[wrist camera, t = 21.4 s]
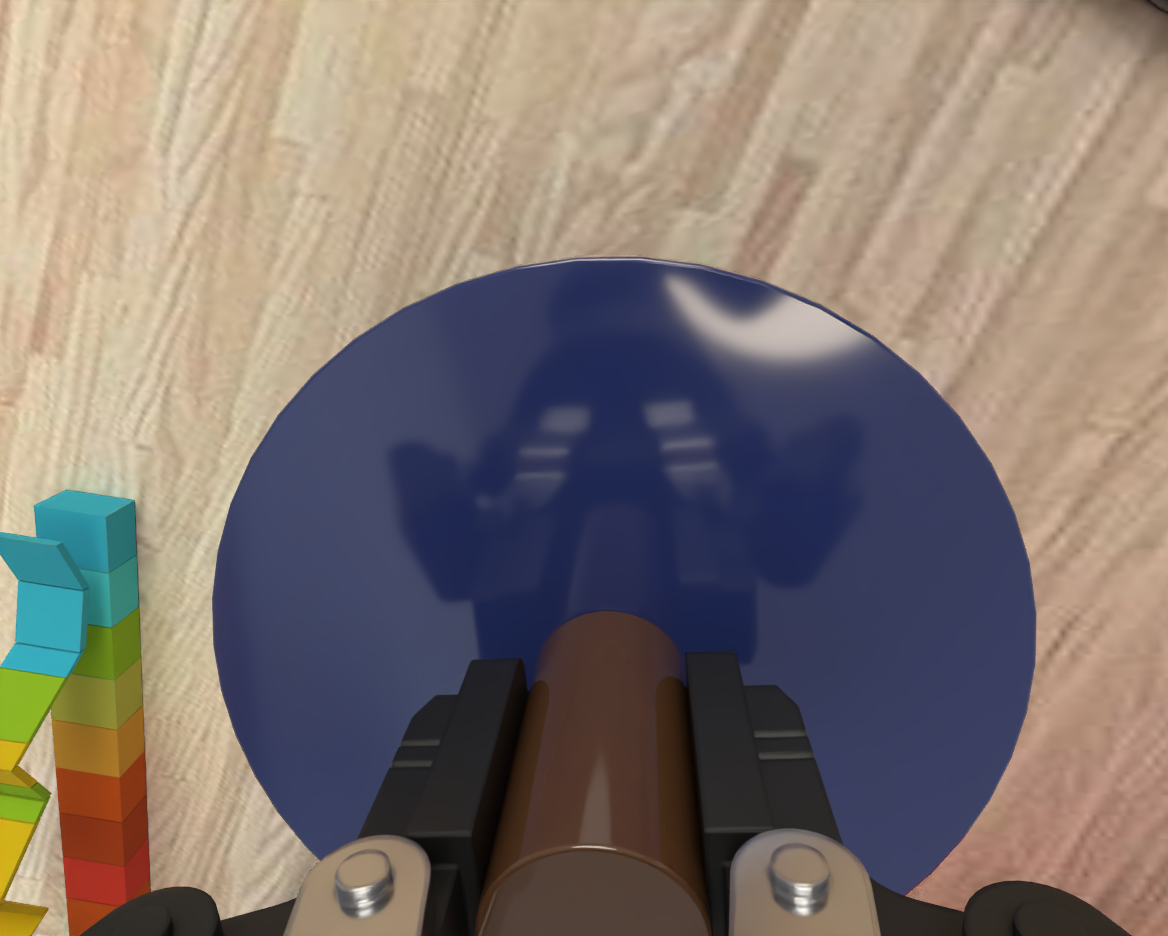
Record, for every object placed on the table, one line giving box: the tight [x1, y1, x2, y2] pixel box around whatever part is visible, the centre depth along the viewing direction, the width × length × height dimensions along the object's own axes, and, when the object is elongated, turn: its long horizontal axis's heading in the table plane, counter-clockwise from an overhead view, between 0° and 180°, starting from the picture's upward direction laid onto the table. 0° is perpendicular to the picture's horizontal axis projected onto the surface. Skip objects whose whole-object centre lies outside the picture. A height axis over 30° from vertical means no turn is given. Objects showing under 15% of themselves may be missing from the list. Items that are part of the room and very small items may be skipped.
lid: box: [212, 255, 1036, 936], centre depth 11 cm, size 13×13×6 cm
